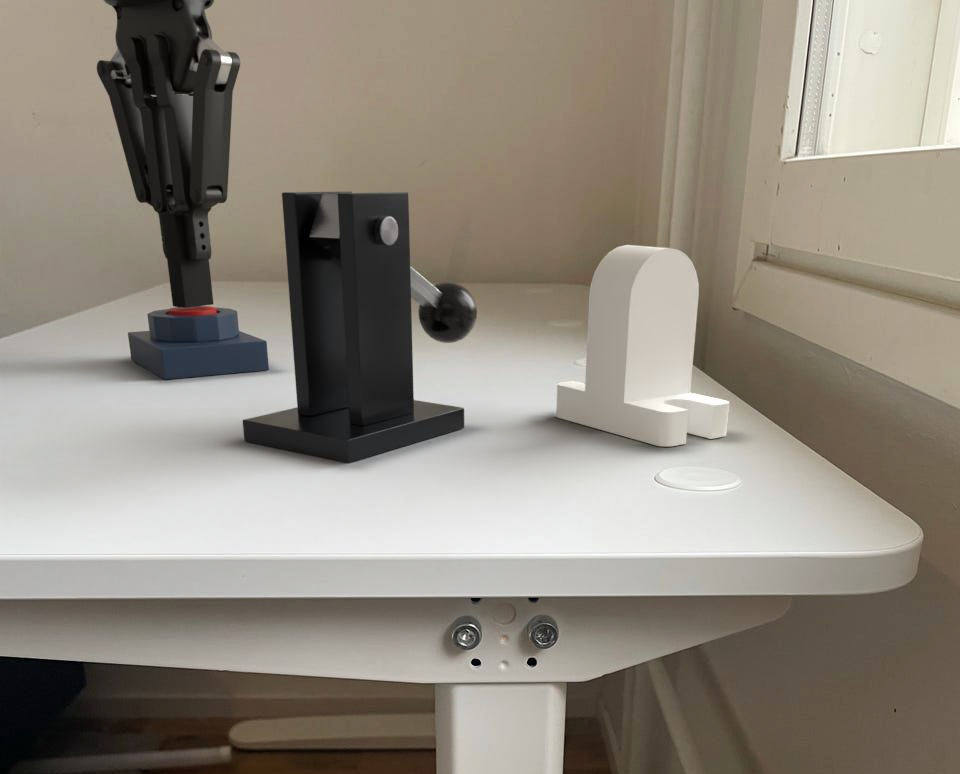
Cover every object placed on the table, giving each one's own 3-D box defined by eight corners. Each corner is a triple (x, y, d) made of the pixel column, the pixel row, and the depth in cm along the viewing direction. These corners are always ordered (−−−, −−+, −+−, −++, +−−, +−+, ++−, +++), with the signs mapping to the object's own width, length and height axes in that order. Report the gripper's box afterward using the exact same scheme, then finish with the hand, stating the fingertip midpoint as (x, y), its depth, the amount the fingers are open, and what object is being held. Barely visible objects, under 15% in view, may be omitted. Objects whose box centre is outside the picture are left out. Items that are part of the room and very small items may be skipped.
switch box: (131, 360, 82) (124, 308, 81) (227, 352, 86) (222, 302, 84) (164, 379, 74) (157, 322, 73) (269, 370, 78) (264, 315, 76)
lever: (432, 349, 65) (449, 296, 65) (477, 355, 63) (494, 300, 63) (295, 246, 54) (316, 182, 54) (345, 249, 52) (366, 183, 52)
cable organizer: (615, 405, 66) (624, 240, 62) (730, 435, 59) (750, 249, 55) (551, 415, 63) (557, 243, 59) (664, 447, 56) (679, 253, 52)
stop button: (165, 330, 80) (162, 307, 79) (210, 327, 81) (208, 304, 81) (178, 336, 77) (175, 312, 76) (224, 333, 79) (222, 309, 78)
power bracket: (364, 411, 65) (353, 190, 59) (464, 428, 60) (463, 192, 55) (244, 441, 57) (220, 192, 52) (348, 463, 53) (334, 194, 48)
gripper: (260, -65, 68) (288, 306, 77) (137, -42, 75) (177, 295, 84) (168, -87, 62) (211, 316, 72) (45, -59, 69) (99, 304, 79)
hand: (193, 305), depth 78 cm, fingers closed
